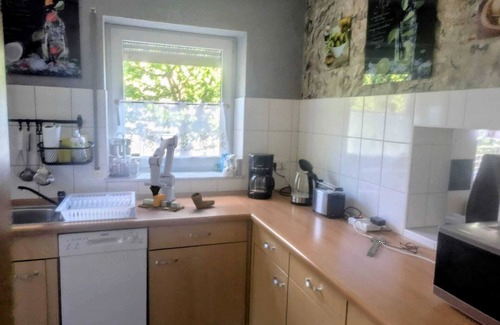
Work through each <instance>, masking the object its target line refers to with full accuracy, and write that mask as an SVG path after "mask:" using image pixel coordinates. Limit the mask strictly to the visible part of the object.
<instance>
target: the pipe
mask: <svg viewBox="0 0 500 325" xmlns="http://www.w3.org/2000/svg"><path fill="white" fill-rule="evenodd" d="M190 198H191V200H192V203H193V204H194V206H195V208H196V210H199V209H202V208H207V207H212V206H215V204H216V203H215V200H214V199H206V200H205V199H204V200H203V197H202V193H201V192H194V193H192V194H191V195H190Z"/></svg>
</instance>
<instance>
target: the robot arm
mask: <svg viewBox="0 0 500 325" xmlns="http://www.w3.org/2000/svg"><path fill="white" fill-rule="evenodd" d="M178 142H179V139H178V135H177V134H176V133H173V134H172V133H162V134H161V136H160V144H159V146H158V147H157V148H156V149H155V151H154V153H153V155H152V156H150V157H149V158H148V165H149V169H150V181H145V182H144V184H143V186H145V187H146V186H147V187H149V190H150V191H151V193H152V197H153V196H156V195H159V194H165V201H173V202H174V201H175V200H176V196H175V195H176V193H175V192H176V190H175V184H176V177H175V174H173V173H172V172H173V170H172V169H173V163H174V162H173V161H174V155H175V151H176V150H175V149H176V148H178ZM165 153H166V154H165ZM164 156H165V161H164V168H163V172H162V173H161V166H162V163H163V157H164ZM159 192H160V193H159Z"/></svg>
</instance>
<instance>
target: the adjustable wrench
mask: <svg viewBox="0 0 500 325" xmlns="http://www.w3.org/2000/svg"><path fill="white" fill-rule="evenodd" d="M371 241H372V245H371V247H370V248H369V249H368V251H367V252H366V256H367V257H370V258H371V257H372V258H373V257H374V256H375V254H376V253H375V252H377V251H376V250H378V249H379V247H378V246H380V245H379V244H380V243H381V242H386V243H387V241H388V239H387V238H385V237H383V236H382V237H381V238H377V237H376V236H372V237H371V238H370V242H371ZM379 241H380V242H379ZM373 242H374V243H373ZM377 248H378V249H377Z"/></svg>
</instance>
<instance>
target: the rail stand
mask: <svg viewBox="0 0 500 325" xmlns="http://www.w3.org/2000/svg"><path fill="white" fill-rule="evenodd" d="M137 207H138V208H142V209H152V210H160V211H169V212H175V213H177V212H179V211H180V210H183V209H185V206H184V205H181V202H179V201H174V200H173V201H163V200H161V201H160V206H158V207H157V206H153V198H144V199H142V203H140V204H138V205H137Z"/></svg>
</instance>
